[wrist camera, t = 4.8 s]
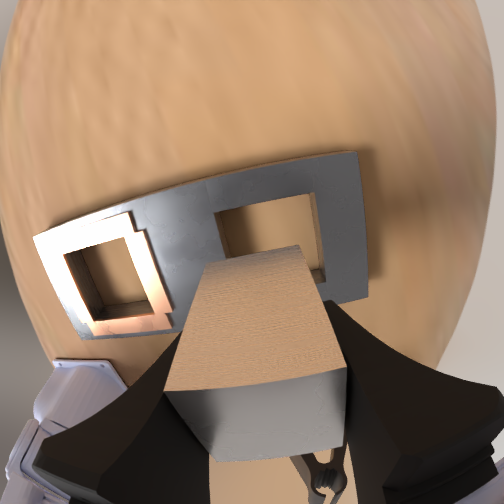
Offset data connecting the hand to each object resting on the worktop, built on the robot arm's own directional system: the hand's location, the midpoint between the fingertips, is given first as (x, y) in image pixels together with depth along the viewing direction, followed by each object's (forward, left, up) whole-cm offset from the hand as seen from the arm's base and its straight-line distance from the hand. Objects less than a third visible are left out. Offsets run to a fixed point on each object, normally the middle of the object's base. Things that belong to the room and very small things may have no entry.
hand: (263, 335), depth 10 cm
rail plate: (-5, 0, -10) cm, 11 cm away
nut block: (0, 0, -3) cm, 3 cm away
